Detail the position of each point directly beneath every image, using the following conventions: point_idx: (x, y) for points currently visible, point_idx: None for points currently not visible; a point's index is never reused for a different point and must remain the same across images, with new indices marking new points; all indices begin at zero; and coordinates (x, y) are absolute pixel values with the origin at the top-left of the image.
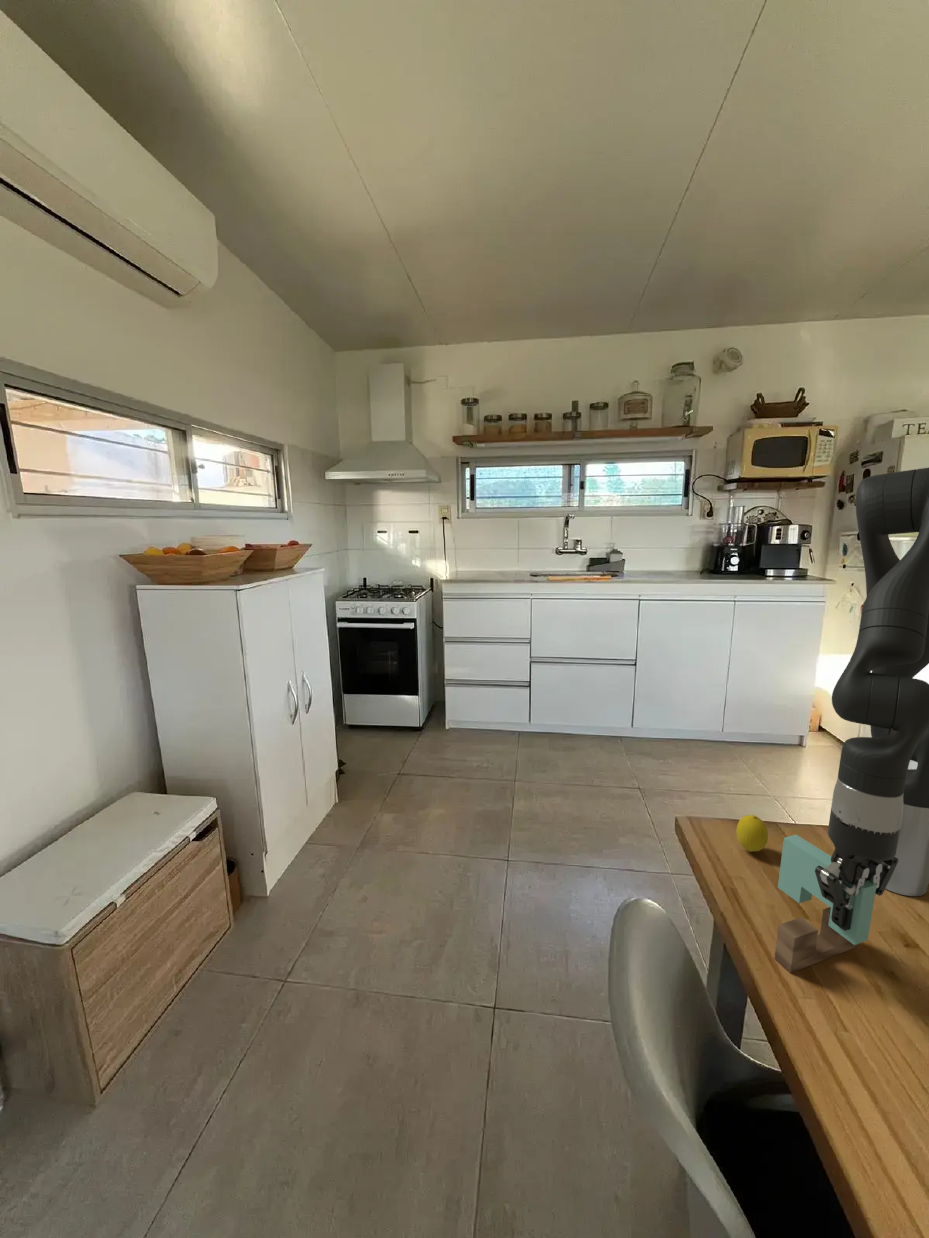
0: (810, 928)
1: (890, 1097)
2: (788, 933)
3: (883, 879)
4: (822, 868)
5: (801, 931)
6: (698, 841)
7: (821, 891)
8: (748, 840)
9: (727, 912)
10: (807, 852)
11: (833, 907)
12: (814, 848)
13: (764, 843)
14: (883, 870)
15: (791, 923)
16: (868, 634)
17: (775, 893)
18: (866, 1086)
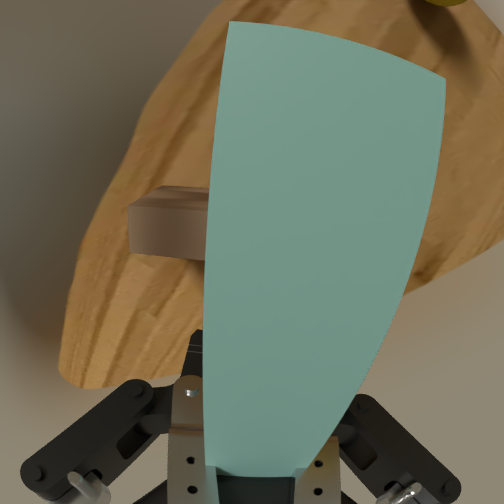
0: (199, 249)
1: (134, 364)
2: (129, 234)
3: (357, 473)
4: (39, 495)
5: (164, 246)
6: None
7: (106, 399)
8: None
9: (184, 54)
10: (209, 340)
11: (183, 365)
12: (351, 329)
13: (442, 1)
14: (376, 490)
15: (164, 216)
16: None
17: None
18: (119, 351)
